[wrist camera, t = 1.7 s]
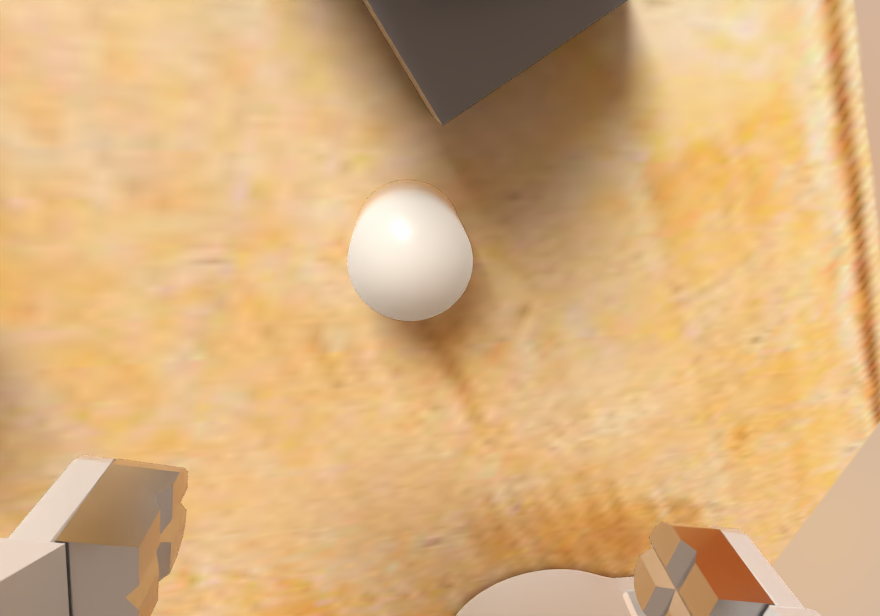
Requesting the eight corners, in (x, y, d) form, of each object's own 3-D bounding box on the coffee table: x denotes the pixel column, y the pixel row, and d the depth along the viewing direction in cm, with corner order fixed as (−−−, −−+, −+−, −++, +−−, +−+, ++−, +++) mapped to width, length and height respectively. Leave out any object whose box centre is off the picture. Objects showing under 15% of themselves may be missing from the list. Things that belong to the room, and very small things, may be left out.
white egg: (478, 246, 27) (495, 279, 23) (394, 299, 28) (394, 342, 23) (422, 158, 25) (429, 175, 21) (334, 218, 26) (321, 247, 21)
